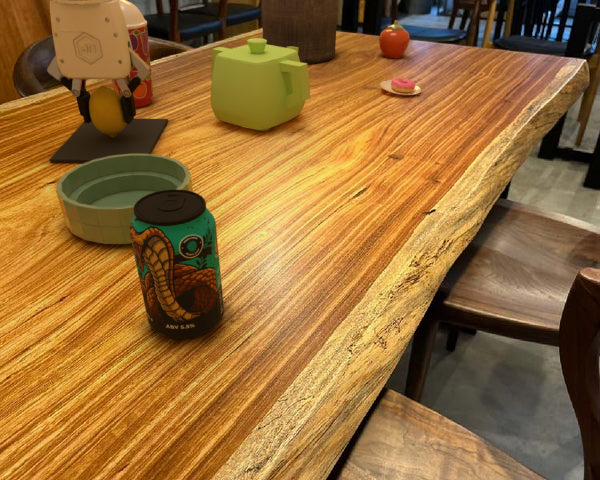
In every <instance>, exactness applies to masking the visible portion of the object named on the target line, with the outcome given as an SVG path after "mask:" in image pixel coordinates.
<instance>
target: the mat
mask: <svg viewBox="0 0 600 480" xmlns="http://www.w3.org/2000/svg"><path fill="white" fill-rule="evenodd" d="M168 124H169V118H134V119H133V120H132V121H131V123H130V124H126V126H125V128H124V129H123V130H122V131H121V132H120V133H118V134H117V135H116V137H113V138H112V137H110V136H109V135H108V134H104V133H102V132H101V131H99V130H98V129H97V128H96V127H95V126H94V124H93V122H92V121H91V122H90V123H85V122H84V121H83V122H82V123H81V124H80V125H79V127H78V128H76V130H75V131H74V132H73V133H72V134H71V135H70V136H69V138H68V139H66V141H65V142H64V143H63V144H62V145H61V146H60V147H59V148H58V150H57V151H56V152H55V153H54V154H52V156H51V157H50V158H49V164H53V163H54V164H56V163H57V164H63V163H64V164H84V163H86V162H89V161H91V160H95V159H99V158H103V157H108V156H113V155H122V154H152V152H153V150H154V149H155V147H156V145H157V143H158V141H159V139H160V138H161V136H162V134H163V132H164V130H165V128H166V127H167V125H168Z"/></svg>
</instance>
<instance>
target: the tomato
mask: <svg viewBox="0 0 600 480" xmlns="http://www.w3.org/2000/svg"><path fill="white" fill-rule="evenodd" d="M410 36H411V35H410V34H409V32H408V30H406V29H405V28H404V26H403V25H401V24H399V21H398V20H397V19H395V20H394V22H393V24H390V25H388V26H386V28H385V29H383V30H382V31H381V32H380V34H379V38H378V44H379V49H380V52H381V54H383V56H384V57H386V58H388V59H399V58H401V57H402V56H403V55H404V54H405V53H406V51H407V49H408V47H409V45H410V40H411V39H410Z"/></svg>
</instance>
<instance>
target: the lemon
mask: <svg viewBox="0 0 600 480" xmlns="http://www.w3.org/2000/svg"><path fill="white" fill-rule="evenodd" d="M90 95H91V97H90V100H89V113H90V117H91V120H92V122H93V124H94V126H95V127H96V128H97V129H98V130H99V131H101V132H102V133H104V134H108V135H109V136H110V137H112V138H113V137H116V135H117V134H118V133H120V132H121V131H122V130H123V129H124V128H125V126H126V123H125V121H124V116H123V111H122V105H121V100H120V99H121V96H120V95H119V94H118V93H117V92H116V91H115V90H114V88H110V87H108V86H106V85H100V87H99V88H97V89H95V90H94V91H93V92H92V93H91V94H90Z"/></svg>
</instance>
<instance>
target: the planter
mask: <svg viewBox="0 0 600 480" xmlns="http://www.w3.org/2000/svg"><path fill="white" fill-rule="evenodd" d="M338 9H339V0H261V21H262V22H261V23H262V24H261V26H262V39H265V40H267V43H266V44H267V45H273V46H278V47H284V48H287V47H298V48H299V49H298V56H299V60H300V62H301V63H307V65H308V64H309V65H310V64H318V63H319V64H320V63H323V62H327V61H330V60H333V59H334V58H335V57H336V44H337V43H336V41H337V29H338V27H337V25H338V24H337V23H338Z"/></svg>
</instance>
